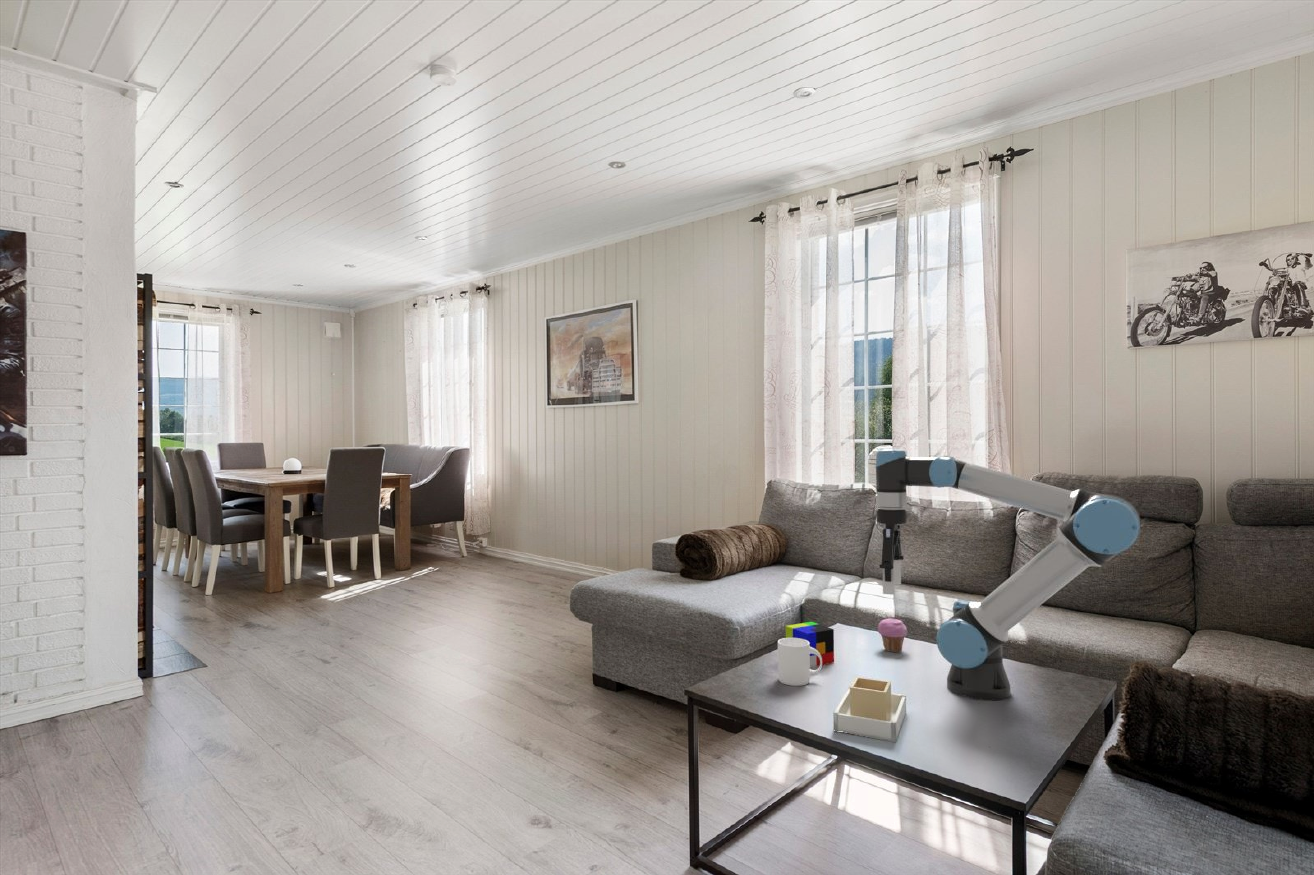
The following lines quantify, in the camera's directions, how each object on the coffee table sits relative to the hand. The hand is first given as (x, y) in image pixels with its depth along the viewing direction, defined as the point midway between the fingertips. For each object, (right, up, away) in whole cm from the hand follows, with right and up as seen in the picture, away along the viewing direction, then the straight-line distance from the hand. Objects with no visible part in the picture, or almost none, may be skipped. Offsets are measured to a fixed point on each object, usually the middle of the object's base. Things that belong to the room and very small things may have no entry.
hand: (892, 589), depth 181 cm
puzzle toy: (-16, -27, +26) cm, 41 cm away
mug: (-23, -27, +8) cm, 36 cm away
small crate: (-12, -26, -20) cm, 35 cm away
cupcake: (+12, -27, +35) cm, 46 cm away
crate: (-12, -27, -20) cm, 35 cm away
